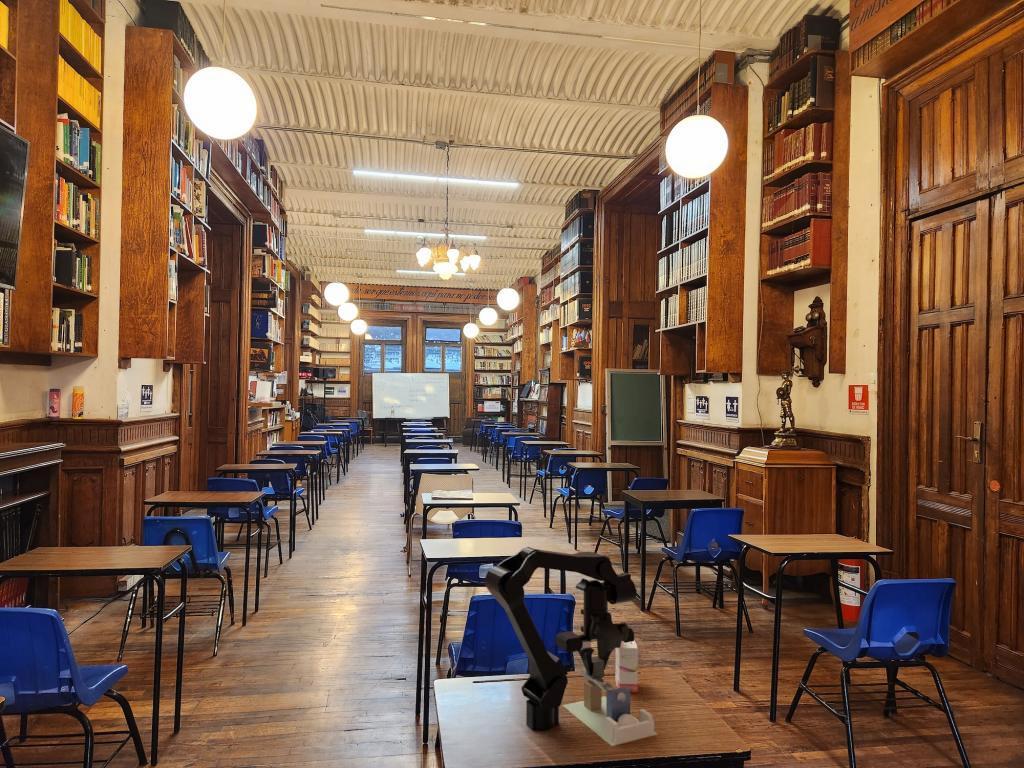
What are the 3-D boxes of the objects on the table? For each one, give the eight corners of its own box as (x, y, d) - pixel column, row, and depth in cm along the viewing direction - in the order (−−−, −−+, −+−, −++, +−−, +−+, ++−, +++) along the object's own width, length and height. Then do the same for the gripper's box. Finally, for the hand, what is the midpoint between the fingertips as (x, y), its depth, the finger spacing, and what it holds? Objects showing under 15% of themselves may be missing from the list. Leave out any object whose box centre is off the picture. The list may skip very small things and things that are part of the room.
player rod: (612, 729, 146) (612, 678, 146) (575, 700, 160) (575, 654, 161) (631, 724, 148) (631, 674, 148) (592, 696, 162) (593, 650, 163)
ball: (613, 712, 146) (613, 731, 146) (624, 720, 143) (624, 739, 143) (628, 709, 148) (628, 727, 148) (639, 716, 145) (639, 735, 144)
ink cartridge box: (639, 695, 167) (638, 636, 167) (619, 695, 167) (619, 636, 167) (633, 681, 175) (633, 625, 176) (614, 681, 175) (614, 625, 176)
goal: (615, 744, 140) (615, 725, 140) (605, 736, 144) (605, 717, 144) (654, 735, 145) (654, 716, 145) (643, 727, 148) (643, 708, 148)
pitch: (611, 750, 140) (611, 718, 140) (562, 709, 159) (562, 681, 159) (657, 738, 145) (657, 707, 145) (604, 700, 164) (604, 672, 164)
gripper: (579, 622, 146) (579, 694, 146) (648, 611, 154) (648, 679, 154) (554, 608, 156) (554, 675, 156) (620, 599, 164) (620, 663, 164)
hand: (595, 673), depth 157 cm, fingers closed on player rod, 3 cm apart
